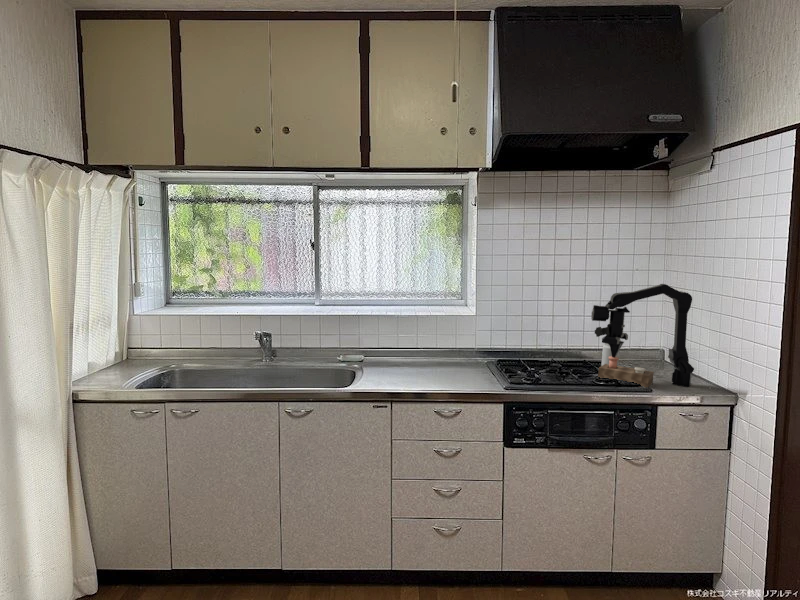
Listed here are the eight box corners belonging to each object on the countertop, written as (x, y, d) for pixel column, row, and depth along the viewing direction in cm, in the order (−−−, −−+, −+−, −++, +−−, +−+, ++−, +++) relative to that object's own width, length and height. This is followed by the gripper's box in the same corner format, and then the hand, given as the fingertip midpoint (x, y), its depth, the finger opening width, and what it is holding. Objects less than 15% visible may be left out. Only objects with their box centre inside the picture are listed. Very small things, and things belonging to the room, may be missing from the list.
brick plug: (618, 370, 227) (619, 357, 226) (616, 372, 224) (617, 358, 223) (608, 369, 229) (610, 355, 229) (606, 370, 226) (607, 357, 225)
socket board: (652, 383, 221) (653, 371, 221) (647, 387, 214) (648, 375, 213) (604, 374, 234) (605, 363, 233) (597, 378, 226) (598, 367, 225)
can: (615, 371, 241) (617, 345, 240) (599, 368, 246) (601, 343, 245) (619, 368, 247) (621, 343, 246) (603, 365, 252) (605, 341, 251)
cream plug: (645, 382, 221) (646, 368, 220) (642, 384, 217) (644, 370, 217) (634, 380, 223) (635, 366, 222) (632, 382, 220) (633, 368, 219)
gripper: (603, 318, 236) (601, 351, 238) (591, 322, 222) (588, 357, 223) (629, 320, 230) (626, 355, 231) (618, 325, 215) (615, 361, 217)
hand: (613, 357), depth 226 cm, fingers closed, pressing on brick plug
